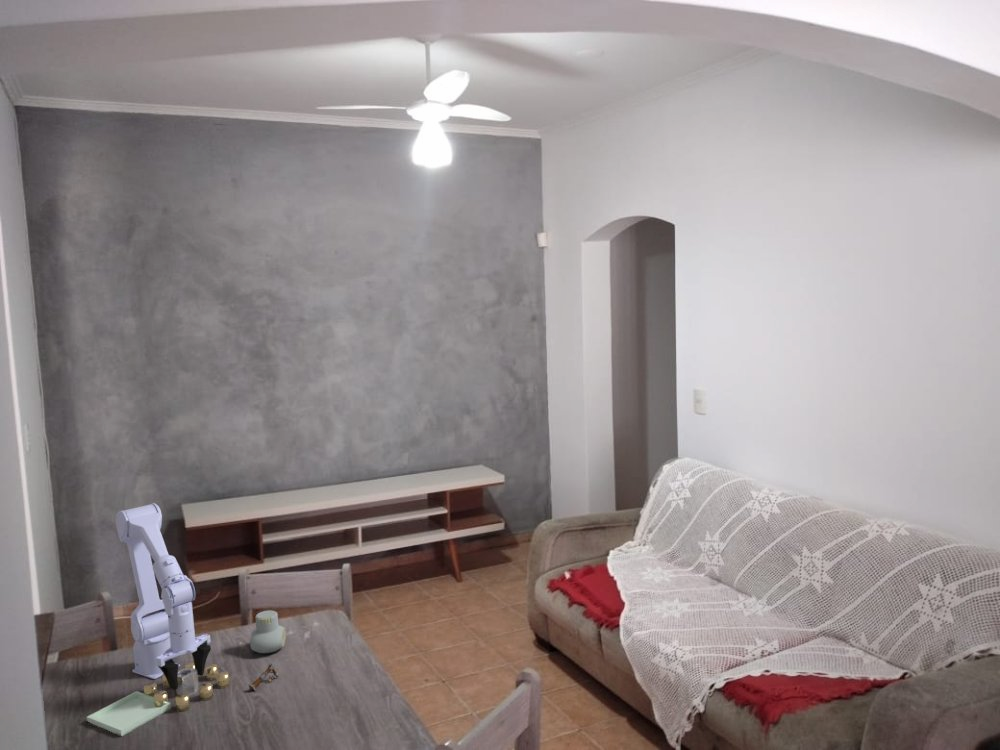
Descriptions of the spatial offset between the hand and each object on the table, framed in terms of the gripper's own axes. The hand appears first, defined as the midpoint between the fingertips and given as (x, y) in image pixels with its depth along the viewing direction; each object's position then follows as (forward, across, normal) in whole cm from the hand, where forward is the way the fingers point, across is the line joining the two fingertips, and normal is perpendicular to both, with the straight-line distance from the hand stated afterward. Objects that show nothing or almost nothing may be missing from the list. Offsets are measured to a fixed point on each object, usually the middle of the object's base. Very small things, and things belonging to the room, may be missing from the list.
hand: (187, 681), depth 198 cm
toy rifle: (+3, +11, -15) cm, 19 cm away
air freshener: (+3, +26, -1) cm, 26 cm away
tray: (+3, -14, +3) cm, 15 cm away
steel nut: (+3, 0, 0) cm, 3 cm away
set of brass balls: (+3, 0, 0) cm, 3 cm away
